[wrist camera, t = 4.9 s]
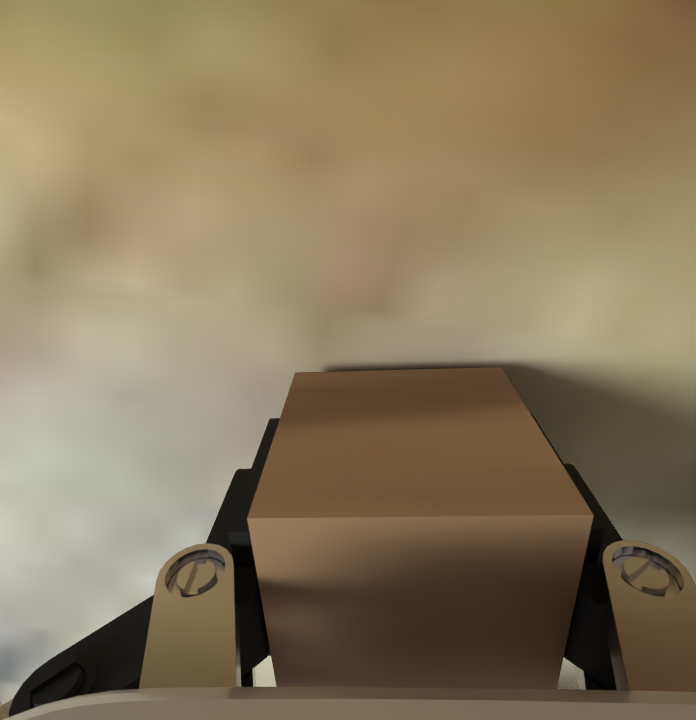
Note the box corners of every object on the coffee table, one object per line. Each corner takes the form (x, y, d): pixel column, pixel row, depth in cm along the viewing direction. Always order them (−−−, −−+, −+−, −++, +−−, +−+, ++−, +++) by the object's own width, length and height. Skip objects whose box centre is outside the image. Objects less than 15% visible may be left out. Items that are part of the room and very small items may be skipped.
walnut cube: (295, 372, 11) (246, 518, 7) (501, 366, 11) (593, 514, 7) (311, 527, 13) (282, 720, 9) (486, 526, 13) (549, 723, 9)
